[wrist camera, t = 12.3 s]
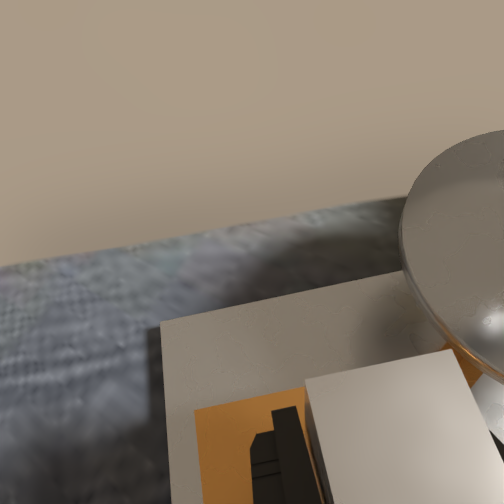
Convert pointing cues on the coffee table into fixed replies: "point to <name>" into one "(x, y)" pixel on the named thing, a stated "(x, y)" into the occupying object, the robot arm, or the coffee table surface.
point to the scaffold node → (345, 328)
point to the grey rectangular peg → (401, 435)
